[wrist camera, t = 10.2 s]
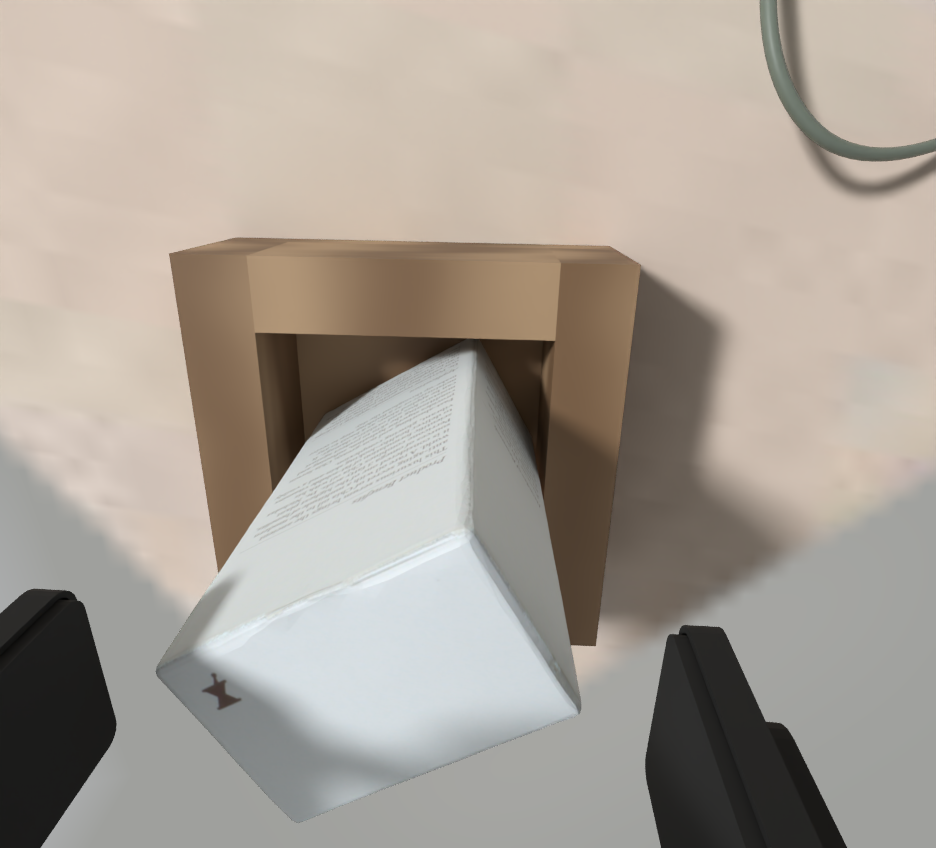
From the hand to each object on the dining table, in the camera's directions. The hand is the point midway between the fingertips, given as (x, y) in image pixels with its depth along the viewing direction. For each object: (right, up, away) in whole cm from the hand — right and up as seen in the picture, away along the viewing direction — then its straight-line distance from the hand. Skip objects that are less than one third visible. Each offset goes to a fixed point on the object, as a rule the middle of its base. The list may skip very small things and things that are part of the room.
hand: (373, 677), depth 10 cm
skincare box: (0, +4, +11) cm, 12 cm away
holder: (0, +4, +12) cm, 13 cm away
